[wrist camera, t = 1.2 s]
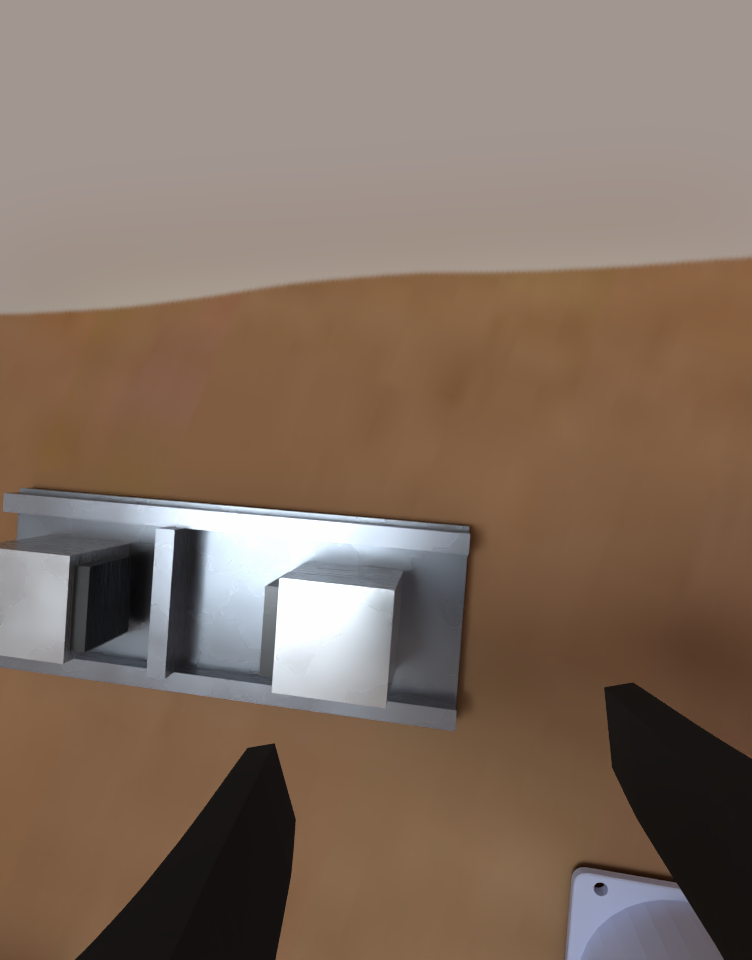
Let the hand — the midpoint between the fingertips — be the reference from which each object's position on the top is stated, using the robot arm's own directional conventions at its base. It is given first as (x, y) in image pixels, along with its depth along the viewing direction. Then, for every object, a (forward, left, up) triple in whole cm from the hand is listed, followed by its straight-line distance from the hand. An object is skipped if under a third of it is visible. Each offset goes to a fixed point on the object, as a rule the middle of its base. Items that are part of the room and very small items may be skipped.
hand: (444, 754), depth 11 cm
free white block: (+4, 0, -9) cm, 10 cm away
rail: (+9, 0, -10) cm, 14 cm away
